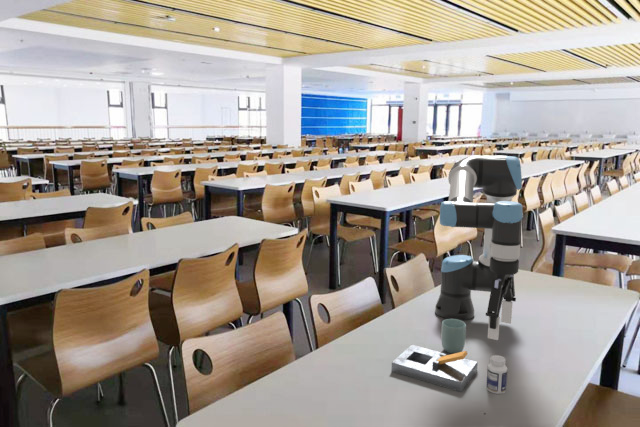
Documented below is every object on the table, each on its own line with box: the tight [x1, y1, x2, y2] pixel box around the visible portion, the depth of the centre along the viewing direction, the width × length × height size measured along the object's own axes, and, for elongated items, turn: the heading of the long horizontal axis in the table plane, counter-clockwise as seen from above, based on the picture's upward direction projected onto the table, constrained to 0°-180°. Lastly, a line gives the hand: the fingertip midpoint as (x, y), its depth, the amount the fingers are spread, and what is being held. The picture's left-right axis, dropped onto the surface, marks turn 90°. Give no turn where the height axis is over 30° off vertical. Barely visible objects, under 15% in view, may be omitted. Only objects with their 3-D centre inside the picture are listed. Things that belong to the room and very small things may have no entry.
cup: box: [440, 318, 467, 354], centre depth 172 cm, size 8×8×10 cm
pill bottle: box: [486, 355, 508, 395], centre depth 148 cm, size 5×5×10 cm
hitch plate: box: [391, 344, 478, 393], centre depth 160 cm, size 15×22×5 cm
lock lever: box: [435, 350, 468, 364], centre depth 156 cm, size 4×10×1 cm, turn 56°
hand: (499, 330), depth 146 cm, fingers open, 13 cm apart
